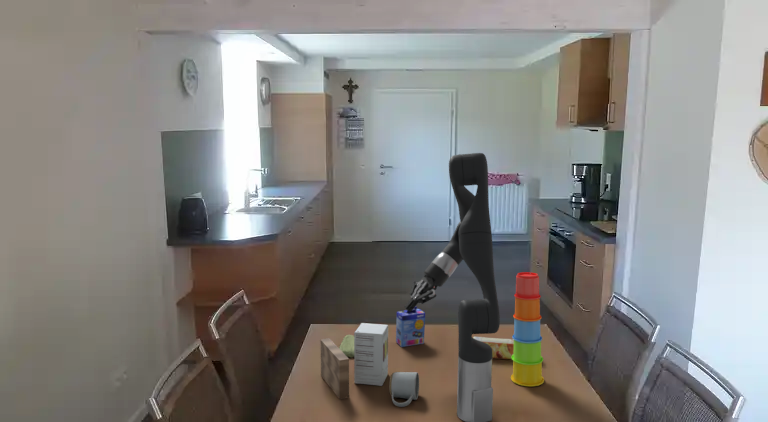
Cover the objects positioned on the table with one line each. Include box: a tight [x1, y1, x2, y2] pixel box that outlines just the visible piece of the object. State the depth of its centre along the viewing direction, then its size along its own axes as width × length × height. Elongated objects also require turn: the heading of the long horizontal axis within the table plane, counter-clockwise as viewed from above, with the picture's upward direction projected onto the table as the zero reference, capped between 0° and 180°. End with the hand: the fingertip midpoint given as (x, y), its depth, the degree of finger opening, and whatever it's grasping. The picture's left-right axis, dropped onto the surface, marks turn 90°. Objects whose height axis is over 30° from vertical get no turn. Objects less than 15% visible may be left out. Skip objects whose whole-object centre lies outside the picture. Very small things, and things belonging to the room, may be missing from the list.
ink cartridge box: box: [395, 305, 426, 348], centre depth 209 cm, size 10×6×14 cm, turn 115°
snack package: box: [472, 336, 514, 360], centre depth 197 cm, size 21×7×7 cm, turn 82°
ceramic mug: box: [388, 371, 420, 408], centre depth 166 cm, size 11×8×8 cm
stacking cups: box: [510, 271, 545, 387], centre depth 176 cm, size 10×10×35 cm
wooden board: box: [319, 338, 350, 400], centre depth 174 cm, size 18×3×12 cm, turn 24°
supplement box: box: [353, 322, 389, 387], centre depth 178 cm, size 10×9×17 cm
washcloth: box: [338, 334, 354, 358], centre depth 204 cm, size 13×18×3 cm
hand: (407, 309), depth 182 cm, fingers closed
